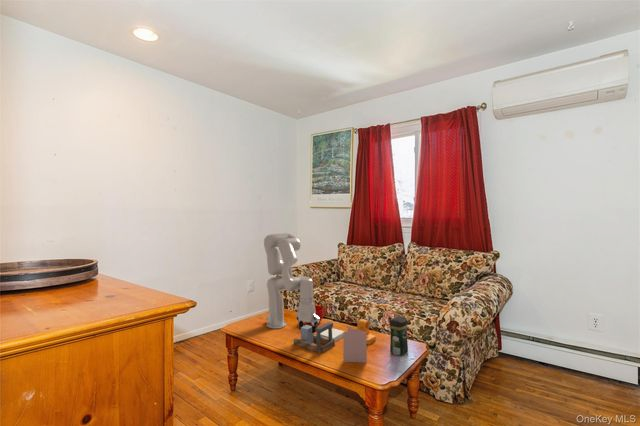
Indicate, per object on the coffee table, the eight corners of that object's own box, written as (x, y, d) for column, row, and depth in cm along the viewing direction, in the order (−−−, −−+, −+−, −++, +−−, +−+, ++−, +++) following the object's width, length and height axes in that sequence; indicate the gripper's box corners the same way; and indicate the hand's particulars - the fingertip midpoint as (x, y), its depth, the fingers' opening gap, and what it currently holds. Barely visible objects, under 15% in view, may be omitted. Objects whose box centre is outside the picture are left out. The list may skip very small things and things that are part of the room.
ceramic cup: (298, 327, 206) (298, 311, 206) (309, 318, 222) (308, 304, 221) (317, 329, 201) (317, 313, 201) (326, 320, 217) (326, 306, 217)
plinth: (317, 337, 189) (316, 333, 189) (329, 331, 198) (328, 327, 198) (333, 342, 181) (333, 338, 181) (345, 335, 191) (345, 331, 191)
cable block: (300, 343, 181) (300, 327, 181) (306, 340, 185) (306, 324, 185) (307, 345, 178) (307, 329, 178) (313, 342, 182) (313, 326, 182)
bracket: (364, 346, 176) (364, 324, 176) (354, 342, 181) (354, 321, 181) (376, 340, 183) (376, 319, 183) (366, 337, 189) (366, 316, 189)
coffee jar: (396, 347, 174) (395, 313, 174) (410, 351, 169) (409, 316, 169) (387, 353, 167) (387, 318, 166) (401, 358, 162) (401, 321, 161)
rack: (293, 344, 180) (293, 338, 180) (307, 337, 190) (307, 332, 190) (321, 353, 168) (321, 347, 168) (334, 345, 177) (334, 340, 177)
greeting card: (367, 361, 158) (367, 331, 158) (359, 367, 153) (358, 336, 152) (349, 355, 166) (348, 326, 165) (340, 360, 160) (339, 330, 160)
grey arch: (315, 345, 170) (315, 328, 170) (328, 338, 180) (328, 321, 180) (320, 346, 168) (319, 329, 168) (333, 339, 178) (333, 322, 178)
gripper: (291, 299, 184) (292, 329, 183) (314, 304, 173) (315, 335, 173) (299, 297, 190) (300, 325, 189) (322, 301, 179) (323, 331, 179)
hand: (307, 330), depth 181 cm, fingers open, 9 cm apart
